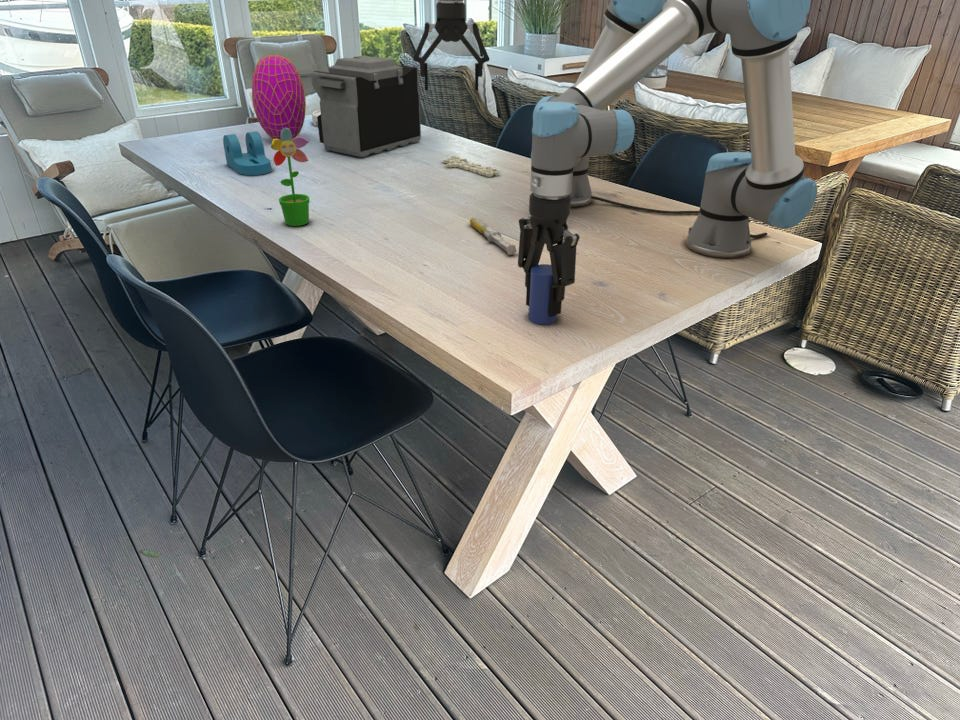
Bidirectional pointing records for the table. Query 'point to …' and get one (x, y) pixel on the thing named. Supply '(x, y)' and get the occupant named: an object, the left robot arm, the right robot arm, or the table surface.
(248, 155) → the camera mount
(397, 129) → the cooler box
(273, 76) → the decorative egg
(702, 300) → the table surface
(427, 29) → the left robot arm
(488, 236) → the syringe
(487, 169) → the decorative sign
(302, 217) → the potted flower
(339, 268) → the table surface
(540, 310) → the can
